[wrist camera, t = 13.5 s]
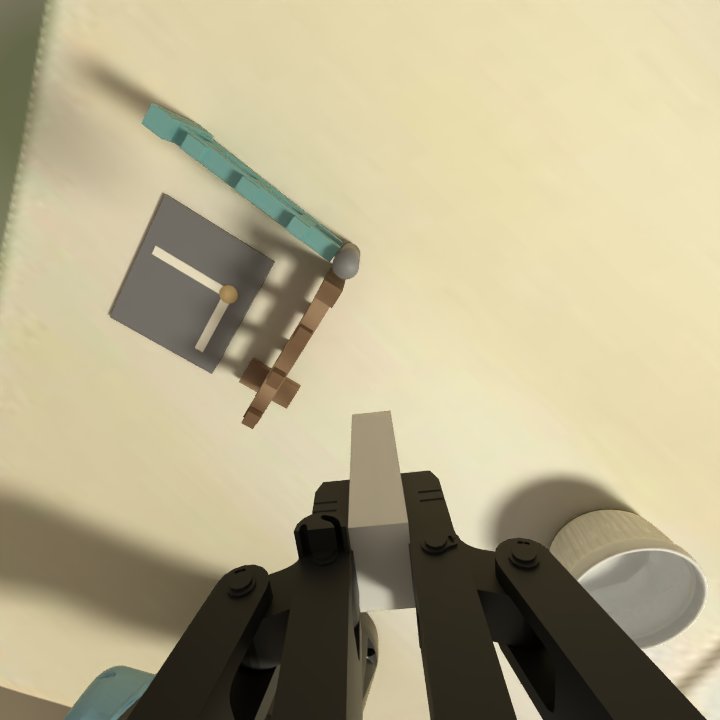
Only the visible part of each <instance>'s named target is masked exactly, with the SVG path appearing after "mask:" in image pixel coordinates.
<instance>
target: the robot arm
mask: <svg viewBox="0 0 720 720" xmlns="http://www.w3.org/2000/svg"><path fill="white" fill-rule="evenodd" d="M312 513H313V514H312V515H310V516H308V517H306V518H304V519H303V520H301V521H300V522H299V523H298V524H297V526H296V528H295V530H294V535H295V540H296V545H297V551H298V556H299V560H298V561H297V562H296V563H294V564H293V565H291V566H290V567H288V568H286V569H283V570H281V571H278V572H275V573H272V574H270V575H268V572H267V571H266V570H265V569H264V568H263V567H260V566H257V565H244V566H241V567H238V568H235V569H233V570H232V571H230V572H229V573H227V574H225V575H224V576H223V577H222V579H221V580H220V581H219V582H218V583H217V585H216V586H215V588H214V589H213V591H212V592H211V594H210V595H209V597H208V598H207V600H206V601H205V603H204V604H203V606H202V607H201V609H200V610H199V612H198V613H197V615H196V616H195V618H194V619H193V621H192V622H191V624H190V625H189V627H188V628H187V630H186V631H185V633H184V634H183V636H182V637H181V639H180V640H179V642H178V643H177V645H176V646H175V648H174V649H173V651H172V652H171V654H170V655H169V657H168V658H167V660H166V661H165V663H164V664H163V666H162V667H161V669H160V670H159V672H158V673H157V674H151V673H148V672H144V671H141V670H137V669H133V668H130V667H127V666H115V667H112V668H109V669H107V670H106V671H104V672H102V673H101V674H100V675H99V676H98V677H96V678H95V680H94V681H93V682H92V683H91V684H90V685H89V686H88V688H87V689H86V690H85V691H84V693H83V694H82V695H81V697H80V698H79V699H78V700H77V702H76V703H75V704H74V706H73V707H72V708H71V710H70V711H69V712H68V714H67V715H66V717H65V718H64V719H63V720H363V710H364V707H365V704H366V701H367V697H368V694H369V691H370V687H371V684H372V681H373V678H374V674H375V671H376V668H377V663H378V634H377V630H376V627H375V625H374V623H373V621H372V619H371V618H370V616H369V615H368V614H367V613H366V612H371V611H382V610H393V609H404V608H415V607H416V615H417V625H418V635H419V645H420V648H421V654H422V661H423V668H424V675H425V683H426V690H427V697H428V704H429V711H430V719H431V720H517V718H516V715H515V712H514V709H513V705H512V702H511V699H510V696H509V692H508V689H507V686H506V683H505V680H504V676H503V673H502V670H501V667H500V663H499V660H498V657H497V654H496V651H495V647H494V644H493V642H498V643H499V646H500V649H501V650H502V652H503V654H504V655H505V657H506V659H507V660H508V662H509V664H510V665H511V667H512V669H513V670H514V672H515V674H516V675H517V677H518V679H519V680H520V682H521V684H522V685H523V687H524V689H525V690H526V692H527V694H528V695H529V697H530V699H531V700H532V702H533V704H534V705H535V707H536V709H537V710H538V712H539V714H540V715H541V717H542V719H543V720H706V718H705V717H704V716H703V715H702V714H701V713H700V712H699V711H698V710H697V709H696V708H695V707H694V706H693V705H692V703H691V702H690V701H689V700H688V699H687V698H686V697H685V696H684V695H683V694H682V693H681V692H680V691H679V690H678V688H677V687H676V686H675V685H674V684H673V683H672V682H671V681H670V680H669V679H668V678H667V677H666V676H665V675H664V673H663V672H662V671H661V670H660V669H659V668H658V667H657V666H656V665H655V664H654V663H653V662H652V661H651V660H650V658H649V657H648V656H647V655H646V654H645V653H644V652H643V651H642V650H641V649H640V648H639V647H638V646H637V645H636V643H635V642H634V641H633V640H632V639H631V638H630V637H629V636H628V635H627V634H626V633H625V632H624V631H623V630H622V628H621V627H620V626H619V625H618V624H617V623H616V622H615V621H614V620H613V619H612V618H611V617H610V616H609V615H608V613H607V612H606V611H605V610H604V609H603V608H602V607H601V606H600V605H599V604H598V603H597V602H596V601H595V599H594V598H593V597H592V596H591V595H590V594H589V593H588V592H587V591H586V590H585V589H584V588H583V587H582V586H581V584H580V583H579V582H578V581H577V580H576V579H575V578H574V577H573V576H572V575H571V574H570V573H569V572H568V571H567V569H566V568H565V567H564V566H563V565H562V564H561V563H560V562H559V561H558V560H557V559H556V558H555V557H554V556H553V554H552V553H551V552H550V551H549V550H548V549H546V548H545V547H544V546H542V545H541V544H540V543H537V542H535V541H532V540H530V539H523V538H514V539H508V540H506V541H504V542H502V543H500V544H499V546H498V547H497V548H496V552H494V551H487V550H481V549H477V548H474V547H471V546H469V545H467V544H465V543H464V542H463V541H461V540H460V538H459V537H458V535H457V534H456V533H455V531H454V528H453V525H452V522H451V518H450V515H449V512H448V508H447V505H446V502H445V499H444V495H443V492H442V488H441V485H440V482H439V479H438V478H437V477H436V476H435V475H434V474H433V473H432V472H431V471H420V472H410V473H400V468H399V462H398V455H397V449H396V443H395V437H394V430H393V424H392V418H391V412H390V411H383V412H373V413H364V414H354V415H352V431H351V459H350V480H342V481H332V482H323V483H322V485H321V486H320V487H319V488H318V490H317V491H316V492H315V498H314V505H313V511H312ZM359 605H360V606H359Z"/></svg>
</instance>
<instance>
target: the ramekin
mask: <svg viewBox="0 0 720 720" xmlns="http://www.w3.org/2000/svg"><path fill="white" fill-rule="evenodd" d="M549 551H550V552H551V553H552V554H553V556H554V557H555V558H556V559H557V560H558V561H559V562H560V563H561V564H562V565H563V566H564V567H565V568H566V569H567V571H568V572H569V573H570V574H571V575H572V576H573V577H574V578H575V579H576V580H577V581H578V582H579V583H580V584H581V586H582V587H583V588H584V589H585V590H586V591H587V592H588V593H589V594H590V595H591V596H592V597H593V598H594V599H595V601H596V602H597V603H598V604H599V605H600V606H601V607H602V608H603V609H604V610H605V611H606V612H607V613H608V615H609V616H610V617H611V618H612V619H613V620H614V621H615V622H616V623H617V624H618V625H619V626H620V627H621V628H622V630H623V631H624V632H625V633H626V634H627V635H628V636H629V637H630V638H631V639H632V640H633V641H634V642H635V643H636V645H637V646H638V647H639V648H640V649H641V650H642V651H645V650H649V649H653V648H656V647H658V646H661V645H664V644H666V643H668V642H670V641H671V640H673V639H675V638H677V637H678V636H680V635H681V634H682V633H684V632H685V631H686V630H687V629H688V628H690V627H691V626H692V624H693V623H694V622H695V621H696V620H697V619H698V617H699V616H700V614H701V613H702V611H703V609H704V607H705V605H706V601H707V597H708V583H707V579H706V576H705V574H704V572H703V570H702V568H701V567H700V566H699V564H698V563H697V562H696V561H695V560H694V559H693V557H692V556H691V555H690V554H689V553H688V552H687V551H685V550H684V549H683V548H681V547H679V546H678V545H676V544H674V543H673V542H672V541H671V540H670V539H669V538H668V537H667V536H666V535H664V534H663V533H662V532H661V531H660V530H658V529H657V528H656V527H655V526H654V525H652V524H651V523H650V522H648V521H647V520H645V519H644V518H642V517H640V516H638V515H636V514H633V513H630V512H626V511H621V510H598V511H593V512H589V513H586V514H583V515H581V516H579V517H577V518H575V519H573V520H572V521H570V522H569V523H568V524H566V525H565V526H564V527H563V528H562V529H561V530H560V531H559V532H558V534H557V535H556V537H555V538H554V540H553V542H552V545H551V547H550V549H549Z"/></svg>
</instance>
